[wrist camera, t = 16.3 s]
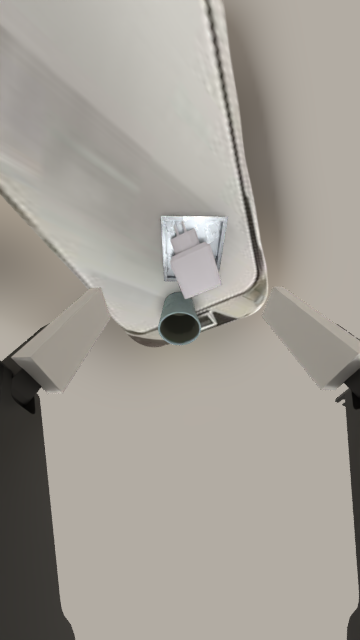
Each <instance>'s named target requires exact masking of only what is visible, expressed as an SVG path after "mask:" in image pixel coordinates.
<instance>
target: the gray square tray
mask: <svg viewBox="0 0 360 640" xmlns="http://www.w3.org/2000/svg"><path fill="white" fill-rule="evenodd" d="M227 220H228V217H211V216H161V228H162V248H163V267H164V281H177V279H176V277H175V274H174V272H173V270H172V267H171V265H170V261H171V258H172V256H175V252H174V249H173V247H172V244H171V242H170V240H171V239H173V238H175V237H176V236H177V235H176V232H175V229H174V227H173V226H174V225H176V227H177V230H178V233H179V235H180V234H183V233H185V232H184V230H183V227H182V224H181V222H182V221H183V222H184V225H185V228H186V230H187V231H189V230H191V229H194V228H195V231H196V234H197V237H198V240H199V243H200V244H201V243H203V242H206V243H208V244H210V245H211V249H212V252H213V255H214V259H215V262H216V265H217V269H218V272H219V269H220V263H221V257H222V251H223V245H224V239H225V233H226V227H227Z"/></svg>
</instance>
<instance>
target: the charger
mask: <svg viewBox="0 0 360 640" xmlns="http://www.w3.org/2000/svg"><path fill="white" fill-rule="evenodd" d="M181 224H182V227H183V230H184V232H185V233H183V234H180V235H179V233H178V230H177V227H176V225H174V226H173V227H174V229H175V232H176V235H177V236H176V237H175V238H173V239H171V240H170V242H171V244H172V247H173V249H174V252H175V256H172V258H171V261H170V265H171V267H172V270H173V272H174V274H175V277H176V279H177V282H178V284H179V286H180V289H181V291H182V294H183V296H184V299H188V298H190V297H193V296H196V295H198V294H201V293H203V292H206V291H208V290H211V289H213V288H216V287H218V286H220V285H222V282H221V278H220V275H219V272H218V269H217V265H216V262H215V259H214V255H213V252H212V249H211V245H210V244H208V243H206V242H203V243H201V244H200V243H199V240H198V237H197V234H196V231H195V228H194V229H191V230H189V231H187V230H186V228H185V225H184V222H183V221H182V222H181Z"/></svg>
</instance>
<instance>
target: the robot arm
mask: <svg viewBox="0 0 360 640" xmlns="http://www.w3.org/2000/svg"><path fill="white" fill-rule="evenodd" d="M262 317H263V319H264V320H265V321H266V322H267V324H268V325H269V326H270V327H271V329H272V330H273V331H274V332H275V334H276V335H277V336H278V337H279V339H280V340H281V341H282V342H283V343H284V345H285V346H286V347H287V349H288V350H289V351H290V352H291V353H292V355H293V356H294V357H295V358H296V360H297V361H298V362H299V363H300V365H301V366H302V367H303V368H304V370H305V371H306V372H307V373H308V375H309V376H310V377H311V378H312V380H313V381H314V382H315V383H316V385H317V386H318V387H319V388H320V390H336V389H337V388H338V387H339V386H340V385H342V384H343V383H345V384H346V385H347V386H348V387H349V389H348V390H346V391H345V392H344V393H343V394H341V395H340V396H339V397H337V398H336V401H335V402H340V401H341V400H342V399H345V403H343V404H342V405H343V406H345V407H346V417H347V431H348V443H349V444H348V445H349V458H350V473H351V487H352V499H353V500H352V501H353V514H354V528H355V542H356V556H357V569H358V582H359V583H358V584H359V603H358V608H357V609H356V610H355V611H354V613H353V614H352V615H351V617H350V619H349V623H348V627H347V640H360V340H359V339H358V338H355V337H354V336H353V335H352V334H351V333H349V332H347V331H346V330H345V329H344V328H342V327H341V326H339V325H338V324H336V323H334V322H333V321H331V320H330V319H328V318H327V317H325V316H324V315H323V314H321V313H320V312H318V311H317V310H316V309H314V308H313V307H311V306H310V305H308V304H307V303H305V302H304V301H303V300H301V299H300V298H298V297H297V296H296V295H294V294H293V293H292V292H290V291H289V290H287V289H286V288H284V287H273V289H272V291H271V294H270V296H269V299H268V301H267V304H266V306H265V309H264V312H263V314H262ZM110 318H111V316H110V313H109V310H108V307H107V304H106V302H105V299H104V296H103V293H102V290H101V288H90V289H89V290H88V291H87V292H85V293H84V294H83V295H82V296H81V297H80V298H78V299H77V300H76V301H75V302H74V303H73V304H72V305H70V306H69V307H68V308H67V309H66V310H65V311H64V312H63V313H61V314H60V315H59V316H58V317H57V318H56V319H54V320H53V321H52V322H51V323H49V324H48V325H46V326H44V327H42V328H40V329H39V330H38V331H37V332H36V333H35V334H34V335H33V336H31V337H30V338H29V339H28V340H27V341H25V342H24V343H23V344H22V345H20V346H19V347H18V348H17V349H16V350H15V351H13V352H12V353H11V354H10V355H9V356H7V357H6V358H5V359H4V360H3V361H2V362H1V361H0V640H75V636H74V633H73V630H72V627H71V624H70V623H69V622H68V620H67V619H66V618H65V616H64V614H63V612H62V609H61V602H60V595H59V584H58V575H57V565H56V555H55V545H54V535H53V525H52V515H51V505H50V495H49V485H48V475H47V466H46V456H45V446H44V437H43V426H42V417H41V406H40V398H39V396H38V394H37V392H38V390H39V389H40V388H41V387H42V388H43V389H44V390H45V391H46V392H47V393H63V392H64V391H65V389H66V388H67V386H68V385H69V383H70V381H71V380H72V378H73V377H74V375H75V373H76V372H77V370H78V369H79V367H80V366H81V364H82V362H83V361H84V359H85V358H86V356H87V354H88V353H89V351H90V350H91V348H92V347H93V345H94V343H95V342H96V340H97V339H98V337H99V335H100V334H101V332H102V331H103V329H104V328H105V326H106V324H107V323H108V321H109V320H110Z"/></svg>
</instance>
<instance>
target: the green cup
mask: <svg viewBox="0 0 360 640" xmlns="http://www.w3.org/2000/svg"><path fill="white" fill-rule="evenodd" d="M158 331H159V334H160V336H161V337H162V338H163V339H164V340H165V341H166V342H168V343H170V344H174V345H185V344H189V343H191V342H193V341H194V340H195V339H196V338H197V337H198V336H199V334H200V331H201V325H200V322H199V319H198V316H197V315H196V313H195V308H194V305H193V302H192V300H191V298H188V299H184V296H183V294H182V292H176V293H172V294H170V295H169V296H168V297H167V298H166V300H165V302H164V307H163V310H162V314H161V318H160V322H159V325H158Z"/></svg>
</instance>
